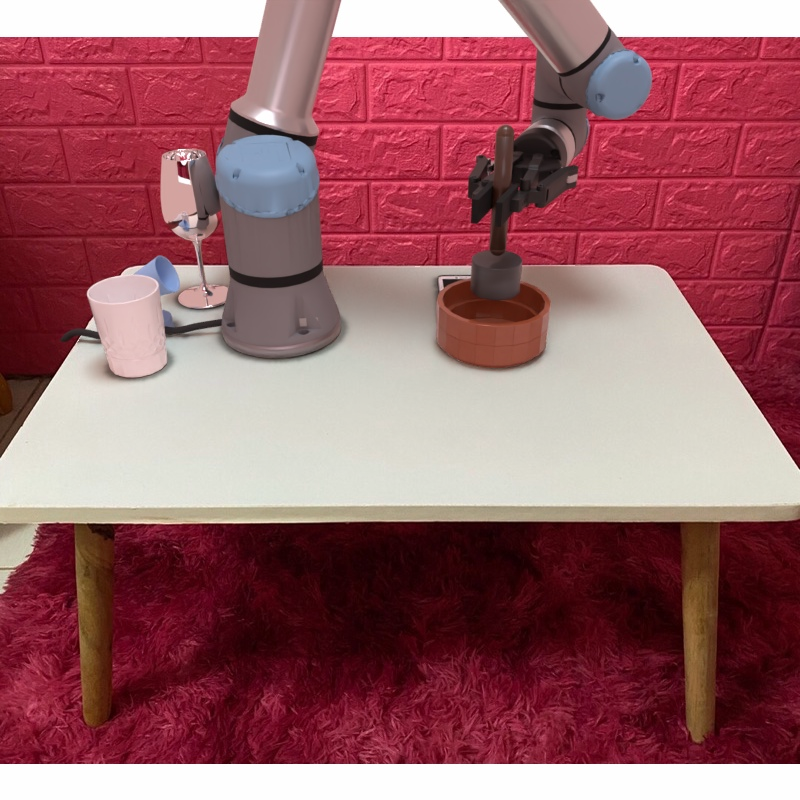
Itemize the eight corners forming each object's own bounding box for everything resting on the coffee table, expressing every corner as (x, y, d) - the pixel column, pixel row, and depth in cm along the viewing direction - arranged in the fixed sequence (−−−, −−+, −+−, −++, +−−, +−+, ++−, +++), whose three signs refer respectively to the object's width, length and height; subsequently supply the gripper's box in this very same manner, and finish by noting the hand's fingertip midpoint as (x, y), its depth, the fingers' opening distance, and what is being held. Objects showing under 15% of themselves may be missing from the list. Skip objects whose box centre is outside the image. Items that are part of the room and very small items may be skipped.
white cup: (154, 384, 90) (138, 306, 84) (92, 377, 91) (72, 300, 86) (183, 351, 96) (170, 277, 91) (125, 345, 97) (109, 271, 92)
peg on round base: (466, 298, 92) (474, 130, 81) (473, 277, 97) (481, 117, 86) (517, 302, 91) (531, 133, 80) (521, 281, 96) (535, 119, 85)
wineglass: (192, 315, 104) (168, 167, 94) (168, 295, 110) (142, 153, 99) (243, 299, 109) (226, 155, 98) (217, 281, 114) (198, 143, 103)
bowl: (426, 363, 94) (427, 319, 90) (446, 313, 105) (447, 272, 102) (541, 376, 91) (546, 331, 88) (548, 323, 102) (553, 282, 99)
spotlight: (190, 320, 103) (139, 319, 104) (178, 249, 98) (125, 248, 98) (179, 337, 99) (127, 336, 99) (167, 265, 94) (111, 264, 94)
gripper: (593, 190, 101) (551, 255, 83) (483, 177, 106) (421, 236, 88) (601, 131, 97) (558, 186, 79) (486, 121, 102) (421, 170, 84)
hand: (486, 213), depth 83 cm, fingers closed on peg on round base, 2 cm apart
